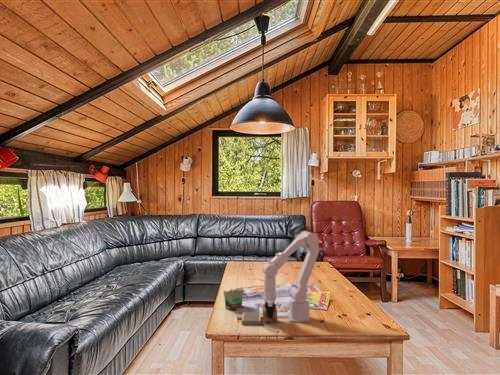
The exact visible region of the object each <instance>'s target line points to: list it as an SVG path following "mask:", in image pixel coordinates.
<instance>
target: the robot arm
mask: <svg viewBox="0 0 500 375" xmlns="http://www.w3.org/2000/svg"><path fill="white" fill-rule="evenodd" d="M319 244H320V239H319V237H318V235H317V234H316V233H314V232H310V231H308V230H302V231H301V232H300V233H299V234H298V235H297V236H296V237H295V238H294V240H293V241H292V242H291V243H290V244H289V245H288V246H287V247H286V248H285V249H284V250H283V251H281V252H276V253H275V256H274V257H273V258H272V259H271V260H269V261H268V262H267V263H265V264H264V265H263V267H262V269H261V270H262V272H263V295H262V296H261V299H262V300H264V304H263V307H265V308H266V311H267V317H268V318H272V317H273V312H274V309H275V307H277V304H276V303H275V302H276V300H277V295H276V293H277V289H276V288H277V285H276V284H277V283H276V281H277V280H276V276H277V275H278V271H279V270H280V269H281V268H282V267H283V266H284V265H285V264H286V263H287V262H288V258H290V256H291V255H292V254H293V253H295V252H296V251H297V250H298V249H299V248H302V247H305V248H306V251H307V252H306V255H305V257H304V260H303V263H302V265H301V268H300V270H299V274H298V276H297V278H296V280H295V281H294V282H292V285H291V286H290V287H289V289H288V295H289V296H290V298H289V299H290V301H289V302H290V303H289V305H290V306H289V309H290V312H289V314H288V318H289V321H290V322H292V323H293V322H294V323H295V322H299V323H302V322H303V323H310V322H311V321H310V302H309V301H308V300H307V299H308V297H307V296H308V290H309V289H308V282H309V279H310V277H311V274H312V272H313V269H314V267H315V264H316V261H317V258H318V257H319V256H318V255H319V253H320V245H319Z"/></svg>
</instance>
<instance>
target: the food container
mask: <svg viewBox="0 0 500 375" xmlns="http://www.w3.org/2000/svg"><path fill="white" fill-rule="evenodd" d="M244 291H245V290H244V288H243V287H242V286H241V287H240V288H238V289H231V290H228V291H226V290H224V291H223V296H224V303H225V304H224V306H225V310H228V311H237V310H236V309H238V308H240V307H241V308H242V304H243V295H244V293H245V292H244ZM238 310H239V309H238Z"/></svg>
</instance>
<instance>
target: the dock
mask: <svg viewBox="0 0 500 375" xmlns="http://www.w3.org/2000/svg"><path fill="white" fill-rule="evenodd" d="M261 313H262V312H254V311H253V312H251V311H250V312H245V311H243V312H242V318H241V325H242V326H261V325H262V324H261V319H262V317H261V316H262V314H261Z"/></svg>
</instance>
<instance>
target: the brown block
mask: <svg viewBox="0 0 500 375" xmlns="http://www.w3.org/2000/svg"><path fill="white" fill-rule="evenodd" d="M262 322H270V323H271V322H276V323H277V322H278V307H277V306H276V307H275V309H274V312H273V317H272V318H268V317H267V311H266V308H265V306H262Z"/></svg>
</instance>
